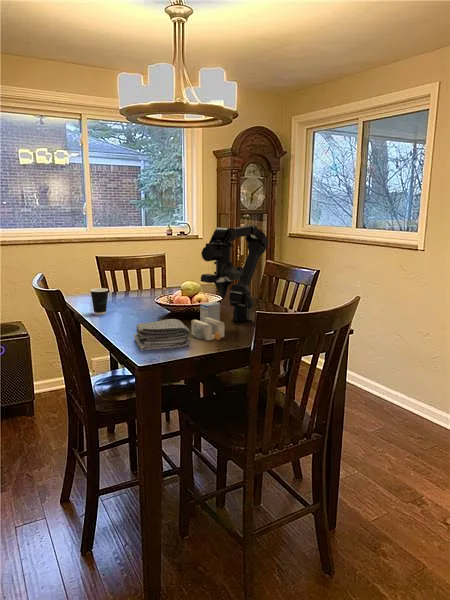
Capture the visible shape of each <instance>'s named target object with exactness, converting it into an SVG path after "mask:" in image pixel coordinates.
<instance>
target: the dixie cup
mask: <svg viewBox="0 0 450 600" xmlns="http://www.w3.org/2000/svg"><path fill="white" fill-rule="evenodd" d="M89 291H90V295H91V302H92V308H93V312H94V315H99V316H101V315H102V316H103V315H106V312H107V305H108V291H109V288H105V287H101V288H100V287H97V288H91V289H89Z"/></svg>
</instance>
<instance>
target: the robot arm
mask: <svg viewBox="0 0 450 600" xmlns="http://www.w3.org/2000/svg"><path fill="white" fill-rule="evenodd" d="M242 237H245V239H244V240H245V241H246V243H247V245H246V246H247V249H248V250H247V251H248V253H247V257H246V259H245V262H244V265H243V266H237V267H235V266H234V263H233V261H231V258H232V248H234V247H235V246H234V245H233V243H232V242H235V240H236V239H238V238H242ZM268 246H269V239H268V237H267V236H266V234H265V233H264V232H262V231H261V230H260V229H259V228H258V226H256V225H255V224H246V225H241V226H237V227H222V226H221V227H220V226H219V227H216V228H215V229H214V231H213V234H212V235H211V237H210V240H209V242H207V243H205V247H203V249H202V251H201V258H202V259H203V260H204V262H212V261H213V263H214V265H215V271H214V272H213V273H204V274H203V273H202V274H201V275H200V282H203V283H207V284H214V285H215V286H216V290H217V291H218V294H219V296H220V297H221V298H220V299H225V297H226V296H227V295H226V294H227V291H228V290H229V287H230V285H231V284H232V285H231V288H230V291H229V292H228V293H229V295H228V298H229V303H230V307H233V312H232V314H233V315H232V317H233V318H231V321H234V322H237V321H238V322H237V323H240V322H242V323H246V322H245V321H247V322H251V321H250V320H252V318H250V309H252V308H253V307H254V300H253V299H252V298H251V293H252V292H251V289H250V286H251V282H252V279H253V277H254V273H255V271H256V267H257V264H258V262H259V259H260V257H261V256H262V255H263V254H264V253H266V250H267V247H268ZM236 280H237V281H238V282H237V283H236V284H234V283H235V281H236Z"/></svg>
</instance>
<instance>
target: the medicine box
mask: <svg viewBox="0 0 450 600" xmlns="http://www.w3.org/2000/svg"><path fill="white" fill-rule="evenodd" d="M199 307H200V308H199V309H200V315H199V316H200V320H199V321H202V322H204V318H207V317H209V318H212V319H215V320H218V321H221V303H220V302H217V301H210V302H205V303H200V305H199Z"/></svg>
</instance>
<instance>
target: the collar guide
mask: <svg viewBox="0 0 450 600" xmlns="http://www.w3.org/2000/svg"><path fill="white" fill-rule="evenodd" d="M210 323H213V324H216V325H218V332H215V334H214V335H212V325H211V324H210ZM190 324H191V325H190V326H191V328H190V329H191V335H192V336H194V326H202V327H205V338H204V340H205V341H211V340H217V341H220V340H221V339H222V338H225V322H224V321H221V320H220V321H218V320H215V319H212V318H209V317H207V318H204V322H202V321H200V320H198V319H192V320H191V323H190Z"/></svg>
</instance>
